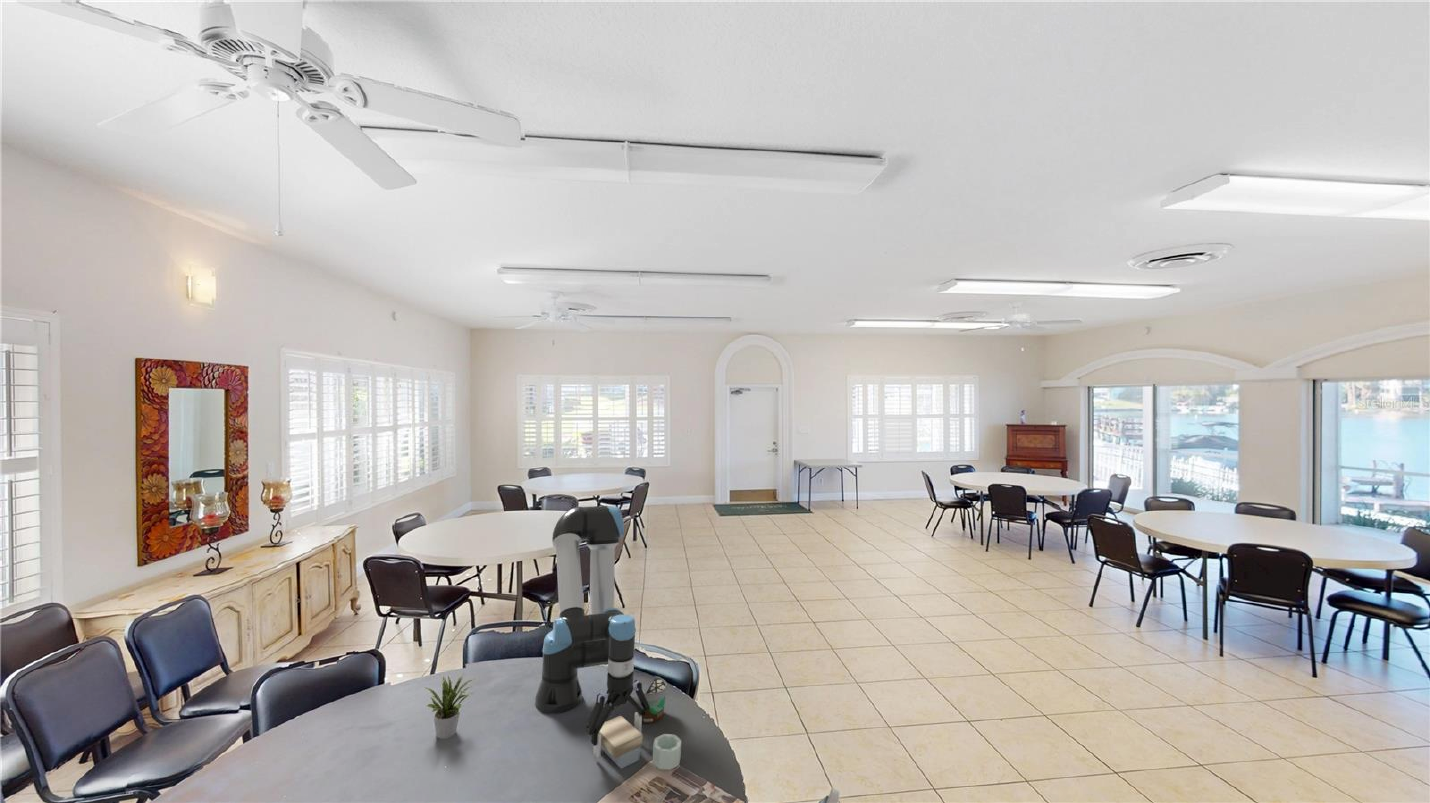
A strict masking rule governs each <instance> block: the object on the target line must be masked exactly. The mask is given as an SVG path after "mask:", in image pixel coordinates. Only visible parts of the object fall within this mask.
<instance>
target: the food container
mask: <svg viewBox="0 0 1430 803" xmlns="http://www.w3.org/2000/svg"><path fill="white" fill-rule="evenodd" d="M668 690H669V689H668V684H667V682H666V680H665V679H664V678H662V677H660V676H656V675H654V680H653V681H652V682H651V684H650V685H649V687H648V689H647V690H646V692H645V693H644V695H645V697H646V700H647V702H648V704H649V706H650V709H649V710H648V711H645V712H646V715H645V716H644V723H643V725H653V724H656V723H658V722H660V721H661V720H662V719H663V717H664V714H665V713H664V711H665V702H666V696H667V694H668V693H669V691H668Z"/></svg>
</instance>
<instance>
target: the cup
mask: <svg viewBox="0 0 1430 803" xmlns="http://www.w3.org/2000/svg"><path fill="white" fill-rule="evenodd" d="M681 753H682V739H681V738H679V737H678V736H677V735H676V734H672V733H671V734H668V733H663V734H661V735H659V736H657V737H655V738H654V741H653V745H652V764H653V765H654V766H655V767H656V768H657V769H658V770H667V771H671V770H673V769H674V768H676V767H679V766H680V762H681V757H682V756H681V755H682V754H681Z"/></svg>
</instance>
